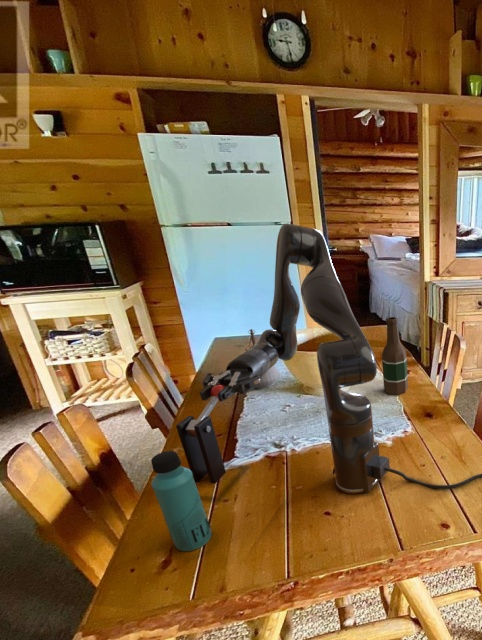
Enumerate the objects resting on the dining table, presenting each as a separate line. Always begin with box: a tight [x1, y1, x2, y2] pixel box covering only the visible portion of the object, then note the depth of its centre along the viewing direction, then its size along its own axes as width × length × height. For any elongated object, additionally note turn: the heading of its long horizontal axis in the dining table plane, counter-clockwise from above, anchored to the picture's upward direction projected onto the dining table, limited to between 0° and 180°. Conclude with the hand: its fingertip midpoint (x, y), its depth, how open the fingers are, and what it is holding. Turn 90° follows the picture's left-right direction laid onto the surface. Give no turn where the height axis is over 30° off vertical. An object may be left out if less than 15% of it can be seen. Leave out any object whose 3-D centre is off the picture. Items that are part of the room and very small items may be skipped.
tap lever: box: [185, 384, 225, 437], centre depth 98 cm, size 14×4×4 cm, turn 174°
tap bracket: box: [175, 415, 227, 485], centre depth 96 cm, size 12×10×16 cm
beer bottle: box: [381, 316, 409, 396], centre depth 138 cm, size 8×8×24 cm
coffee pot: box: [244, 328, 280, 389], centre depth 149 cm, size 21×12×15 cm, turn 25°
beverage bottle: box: [150, 450, 213, 552], centre depth 78 cm, size 6×7×20 cm
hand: (211, 397), depth 99 cm, fingers closed on tap lever, 3 cm apart
